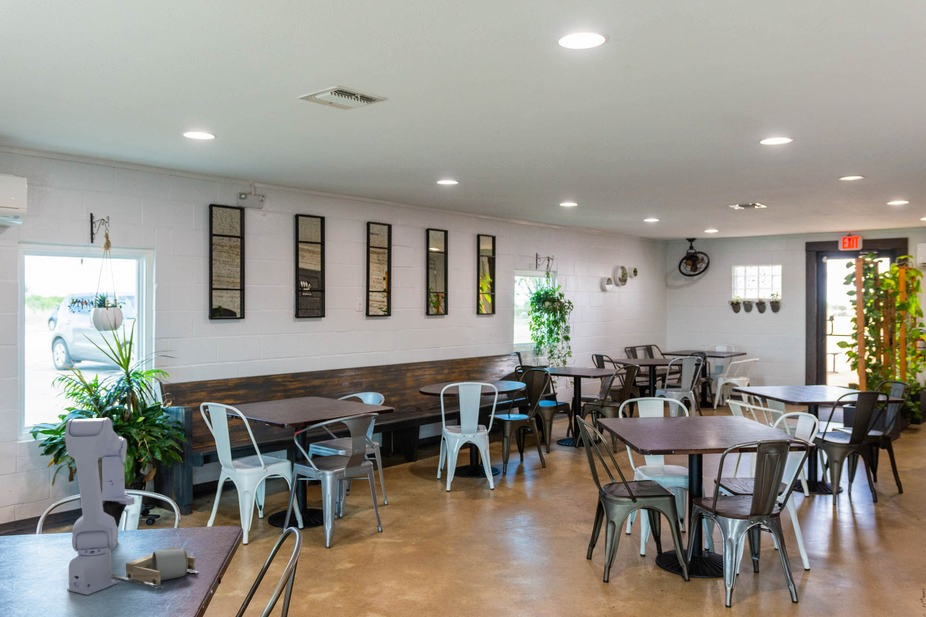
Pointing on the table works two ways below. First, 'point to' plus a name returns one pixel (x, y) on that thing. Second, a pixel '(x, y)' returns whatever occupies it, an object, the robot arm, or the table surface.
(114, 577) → the track
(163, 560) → the ceramic mug
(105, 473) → the robot arm
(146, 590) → the table surface
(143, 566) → the tan wooden bracket
